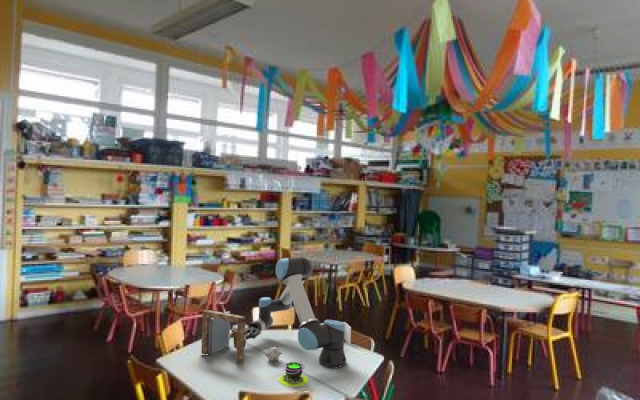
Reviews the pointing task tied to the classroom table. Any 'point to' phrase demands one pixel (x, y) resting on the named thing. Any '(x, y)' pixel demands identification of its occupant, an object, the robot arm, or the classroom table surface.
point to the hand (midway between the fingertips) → (235, 338)
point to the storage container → (347, 332)
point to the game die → (273, 354)
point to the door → (218, 334)
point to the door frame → (227, 317)
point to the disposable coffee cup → (236, 334)
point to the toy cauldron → (293, 375)
